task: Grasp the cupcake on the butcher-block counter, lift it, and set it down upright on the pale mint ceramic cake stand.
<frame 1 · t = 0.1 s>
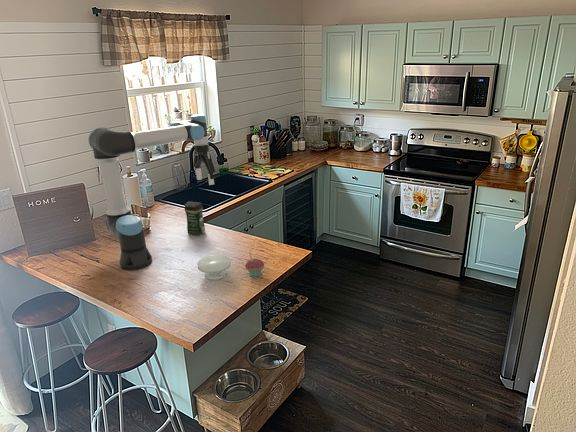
hand: (205, 182, 243), 28 cm above the worktop, fingers open, 13 cm apart
coffee jar: (196, 233, 248), on the worktop
cake stand: (215, 274, 201), on the worktop
cupcake: (255, 274, 200), on the worktop
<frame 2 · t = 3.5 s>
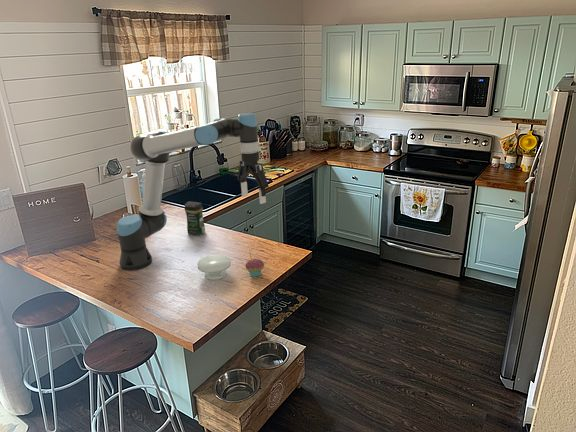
hand: (253, 199, 190), 35 cm above the worktop, fingers open, 13 cm apart
nothing on the worktop moved.
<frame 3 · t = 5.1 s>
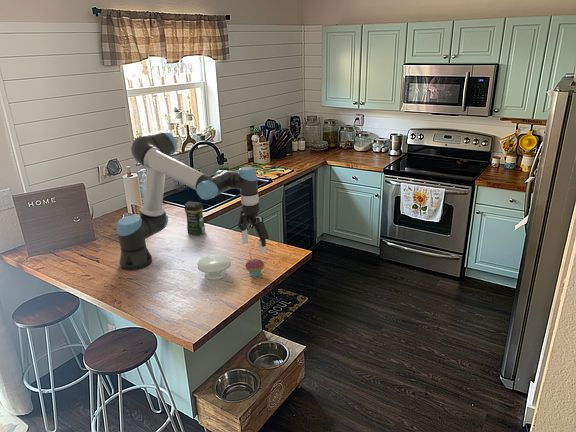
hand: (254, 247, 195), 13 cm above the worktop, fingers open, 13 cm apart
nothing on the worktop moved.
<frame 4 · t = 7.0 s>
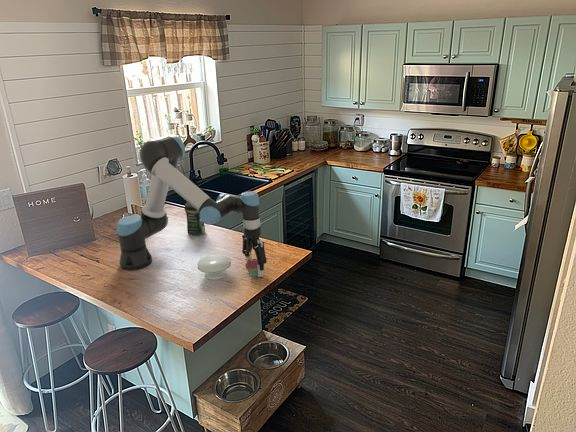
hand: (255, 272, 200), 1 cm above the worktop, fingers closed on cupcake, 8 cm apart
cupcake: (255, 274, 200), on the worktop, touching gripper
everything else where it was.
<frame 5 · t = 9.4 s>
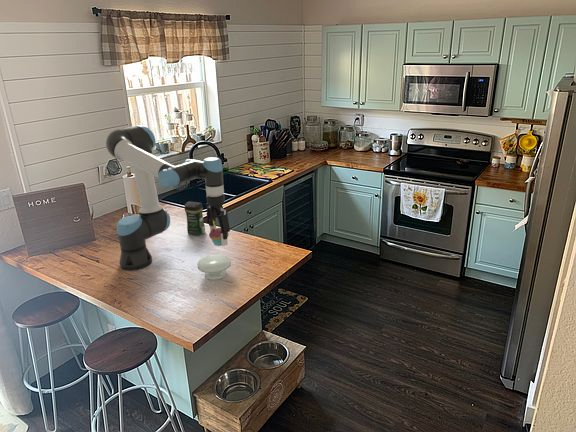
hand: (219, 242, 196), 16 cm above the worktop, fingers closed on cupcake, 8 cm apart
cupcake: (219, 244, 196), point 15 cm above the worktop, touching gripper
everything else where it was.
when the fingers open (9 cm above the worktop, at t = 12.0 s): cupcake drops 2 cm, resting on cake stand.
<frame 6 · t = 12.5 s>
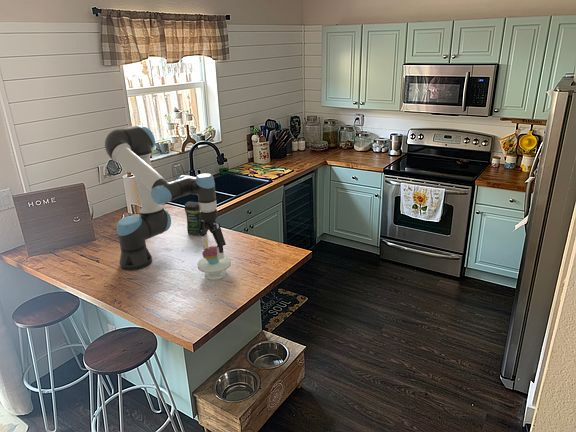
hand: (213, 253, 197), 11 cm above the worktop, fingers open, 13 cm apart
cupcake: (213, 262, 199), point 7 cm above the worktop, touching cake stand
everything else where it was.
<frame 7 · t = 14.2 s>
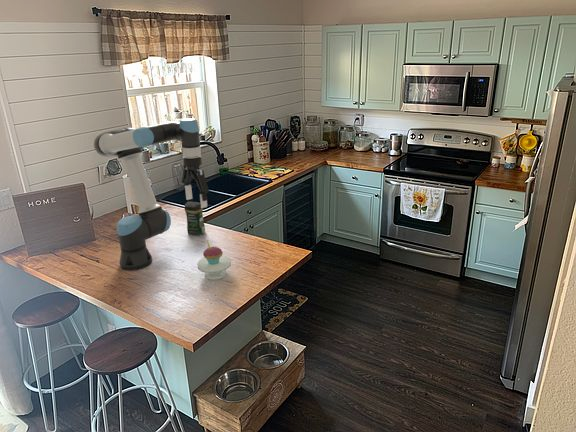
hand: (196, 203, 193), 34 cm above the worktop, fingers open, 13 cm apart
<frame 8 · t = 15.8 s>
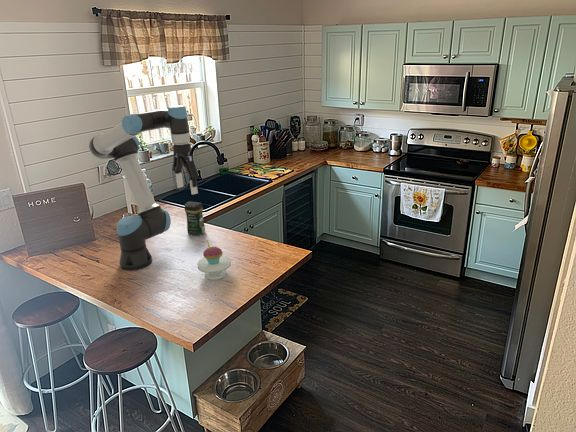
hand: (187, 190, 194), 39 cm above the worktop, fingers open, 13 cm apart
nothing on the worktop moved.
at the end: cupcake inside the target area on the cake stand (0.1 cm from its centre), point 6.3 cm above the cake stand's base; cupcake tilted 0°; the gripper is holding nothing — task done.
